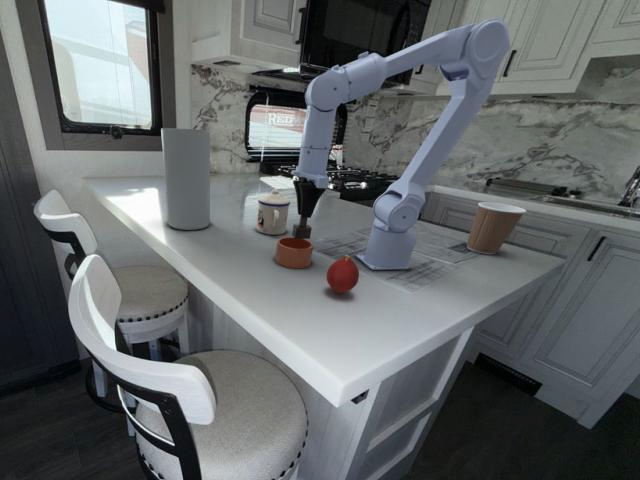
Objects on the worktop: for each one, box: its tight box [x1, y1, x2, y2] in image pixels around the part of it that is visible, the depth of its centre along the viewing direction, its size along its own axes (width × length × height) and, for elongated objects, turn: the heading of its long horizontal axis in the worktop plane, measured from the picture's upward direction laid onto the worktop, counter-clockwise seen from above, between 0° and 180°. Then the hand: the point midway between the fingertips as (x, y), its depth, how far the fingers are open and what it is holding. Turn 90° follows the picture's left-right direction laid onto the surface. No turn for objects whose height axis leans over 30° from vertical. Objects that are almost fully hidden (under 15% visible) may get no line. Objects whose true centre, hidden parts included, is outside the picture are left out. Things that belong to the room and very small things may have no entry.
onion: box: [326, 254, 360, 295], centre depth 58 cm, size 6×6×8 cm
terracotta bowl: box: [274, 236, 314, 269], centre depth 71 cm, size 8×8×4 cm
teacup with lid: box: [256, 188, 291, 236], centre depth 87 cm, size 12×9×12 cm
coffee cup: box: [466, 201, 527, 255], centre depth 83 cm, size 10×10×12 cm
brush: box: [291, 216, 313, 240], centre depth 68 cm, size 4×2×8 cm, turn 98°
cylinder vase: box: [160, 127, 211, 231], centre depth 86 cm, size 12×12×25 cm
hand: (304, 215), depth 68 cm, fingers closed on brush, 1 cm apart
